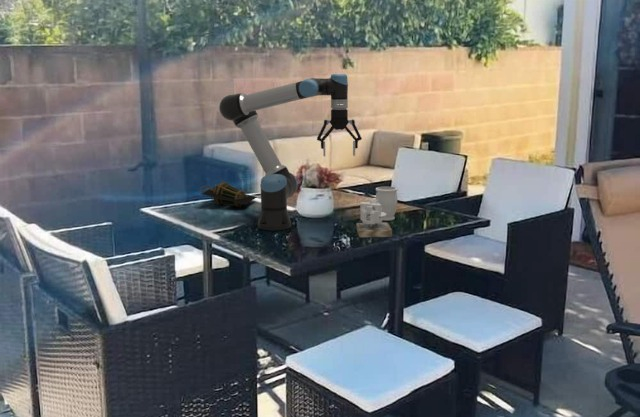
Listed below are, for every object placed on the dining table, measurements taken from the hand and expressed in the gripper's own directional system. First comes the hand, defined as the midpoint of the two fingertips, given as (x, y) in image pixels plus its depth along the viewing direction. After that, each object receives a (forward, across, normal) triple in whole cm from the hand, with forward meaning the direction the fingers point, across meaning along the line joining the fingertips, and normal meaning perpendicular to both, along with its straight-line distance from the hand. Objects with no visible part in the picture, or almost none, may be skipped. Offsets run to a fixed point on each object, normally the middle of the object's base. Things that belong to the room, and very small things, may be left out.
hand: (339, 155), depth 307 cm
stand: (+32, +14, -19) cm, 40 cm away
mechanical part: (+29, +14, -19) cm, 37 cm away
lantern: (+32, -58, +45) cm, 80 cm away
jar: (+32, +23, +8) cm, 40 cm away
